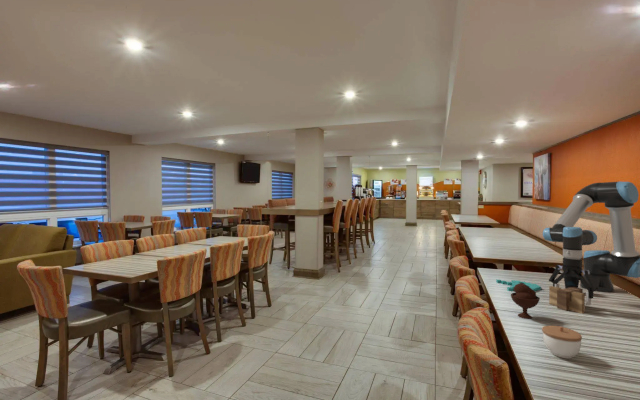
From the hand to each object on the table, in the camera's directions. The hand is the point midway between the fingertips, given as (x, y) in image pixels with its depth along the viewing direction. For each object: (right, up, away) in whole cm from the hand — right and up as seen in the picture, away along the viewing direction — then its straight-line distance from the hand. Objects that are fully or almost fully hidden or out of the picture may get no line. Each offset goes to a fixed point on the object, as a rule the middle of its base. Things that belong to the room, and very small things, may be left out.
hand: (572, 300), depth 153 cm
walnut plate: (-2, -3, -1) cm, 4 cm away
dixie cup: (+19, -4, +24) cm, 31 cm away
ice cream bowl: (-32, -3, -13) cm, 35 cm away
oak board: (-5, -3, -2) cm, 6 cm away
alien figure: (-3, -4, +35) cm, 35 cm away
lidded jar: (-43, -3, -47) cm, 64 cm away
